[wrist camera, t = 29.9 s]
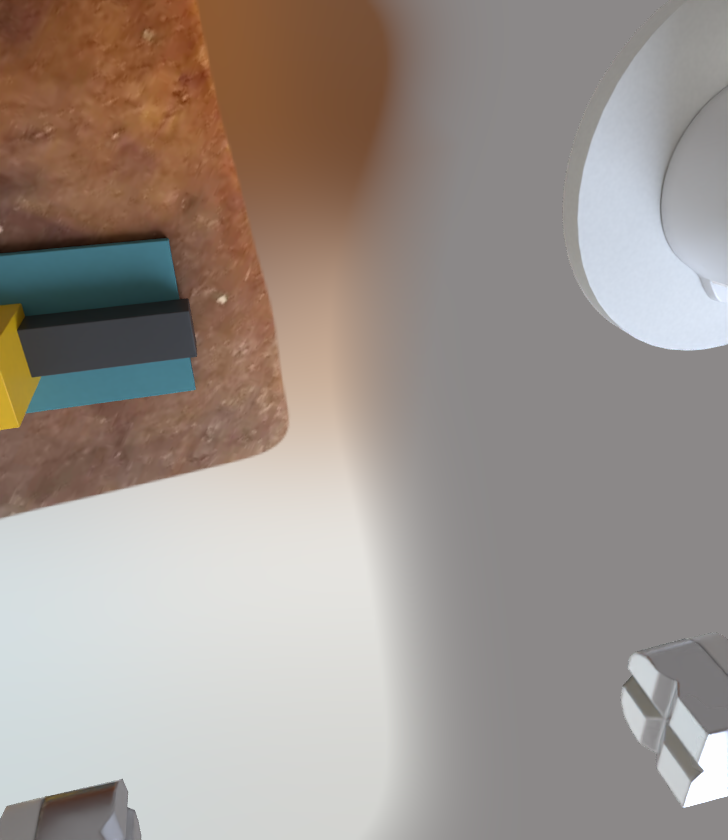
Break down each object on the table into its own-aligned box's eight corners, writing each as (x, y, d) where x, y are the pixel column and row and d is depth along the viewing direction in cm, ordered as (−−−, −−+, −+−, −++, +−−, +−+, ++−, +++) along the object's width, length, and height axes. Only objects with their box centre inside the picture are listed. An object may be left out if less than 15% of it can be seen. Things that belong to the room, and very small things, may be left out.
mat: (168, 237, 39) (168, 239, 39) (195, 386, 44) (195, 390, 44) (-89, 261, 37) (-93, 264, 36) (-30, 417, 42) (-32, 421, 41)
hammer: (186, 285, 40) (187, 324, 34) (198, 354, 43) (201, 401, 37) (-111, 317, 37) (-166, 366, 31) (-81, 389, 39) (-127, 448, 33)
